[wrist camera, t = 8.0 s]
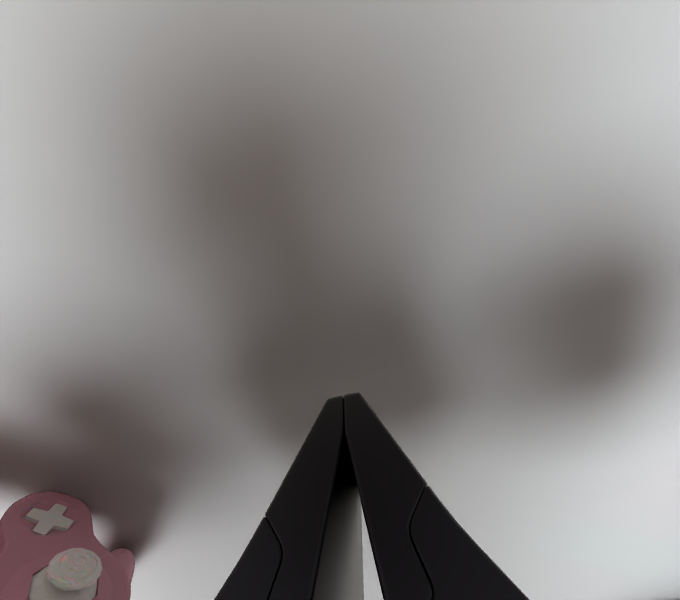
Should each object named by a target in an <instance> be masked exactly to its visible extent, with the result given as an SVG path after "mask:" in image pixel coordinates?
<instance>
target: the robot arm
mask: <svg viewBox="0 0 680 600" xmlns="http://www.w3.org/2000/svg"><path fill="white" fill-rule="evenodd" d="M361 505H362V509H363V513H364V517H365V522H366V526H367V530H368V534H369V539H370V543H371V547H372V552H373V556H374V560H375V564H376V569H377V573H378V577H379V581H380V586H381V590H382V594H383V598H384V600H529V599H528V598H527V597H526V596H525V595H524V593H523V592H522V591H521V590H520V589H519V588H518V587H517V586H516V585H515V584H514V583H513V582H512V581H511V580H510V579H509V578H508V577H507V576H506V574H505V573H504V572H503V571H502V570H501V569H500V568H499V567H498V566H497V565H496V564H495V563H494V562H493V561H492V560H491V559H490V558H489V557H488V555H487V554H486V553H485V552H484V551H483V550H482V549H481V548H480V547H479V546H478V545H477V544H476V543H475V542H474V540H473V539H472V538H471V537H470V536H469V535H468V534H467V533H466V531H465V530H464V529H463V528H462V527H461V526H460V525H459V524H458V523H457V521H456V520H455V519H454V518H453V516H452V515H451V514H450V513H449V511H448V510H447V509H446V508H445V506H444V505H443V504H442V503H441V501H440V500H439V499H438V497H437V496H436V495H435V493H434V492H433V491H432V489H431V488H430V487H429V486H427V483H426V482H425V480H424V479H423V477H422V476H421V475H420V473H419V472H418V471H417V469H416V468H415V467H414V465H413V464H412V463H411V461H410V460H409V459H408V457H407V456H406V455H405V453H404V452H403V451H402V449H401V448H400V447H399V445H398V444H397V443H396V441H395V440H394V438H393V437H392V436H391V434H390V433H389V432H388V430H387V429H386V428H385V426H384V425H383V424H382V422H381V421H380V420H379V418H378V417H377V416H376V414H375V413H374V412H373V410H372V409H371V408H370V406H369V405H368V404H367V402H366V401H365V400H364V398H363V397H362V395H361V394H360V393H358V392H357V393H352V394H347V395H345V396H344V397H343V396H338V397H333V398H329V399H328V400H327V401H326V403H325V405H324V407H323V409H322V410H321V412H320V414H319V416H318V418H317V420H316V421H315V423H314V425H313V427H312V429H311V431H310V433H309V434H308V436H307V438H306V440H305V442H304V444H303V445H302V447H301V449H300V451H299V453H298V455H297V456H296V458H295V460H294V462H293V464H292V466H291V468H290V469H289V471H288V473H287V475H286V477H285V479H284V480H283V482H282V484H281V486H280V488H279V490H278V491H277V493H276V495H275V497H274V499H273V501H272V503H271V504H270V506H269V508H268V510H267V512H266V514H265V516H266V517H263V519H262V521H261V522H260V524H259V526H258V528H257V530H256V532H255V533H254V535H253V537H252V539H251V540H250V542H249V544H248V546H247V547H246V549H245V551H244V553H243V554H242V556H241V558H240V560H239V561H238V563H237V565H236V566H235V568H234V569H233V571H232V572H231V574H230V576H229V577H228V579H227V580H226V582H225V583H224V585H223V587H222V588H221V590H220V591H219V593H218V594H217V596H216V597H215V599H214V600H364V593H363V558H362V524H361Z"/></svg>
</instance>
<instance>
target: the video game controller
mask: <svg viewBox="0 0 680 600" xmlns="http://www.w3.org/2000/svg"><path fill="white" fill-rule="evenodd" d="M134 565H135V561H134V555H133V553H132V552H131V551H130V550H129V549H124V548H121V549H116V550H114V551H112V552H109V551H108V550H107V549H106V548H105V547H104V546H103V545H102V544H100V542H99V541H98V540H97V538H96V537H95V536H94V533H93V525H92V518H91V514H90V510H89V509H88V507H87V506H86V504H85V503H84V502H82V501H81V500H79V499H77V498H74V497H71V496H68V495H65V494H62V493H59V492H50V491H48V492H40V493H34V494H30V495H28V496H26V497H24V498H22V499H20V500H18V501H17V502H15V503H14V504H12V505H11V506H10V507H9V508H8V510H7V511H6V512H5V514H4V515H3V517H2V518H1V520H0V600H130V596H131V585H130V584H131V581H132V577H133V573H134Z"/></svg>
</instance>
